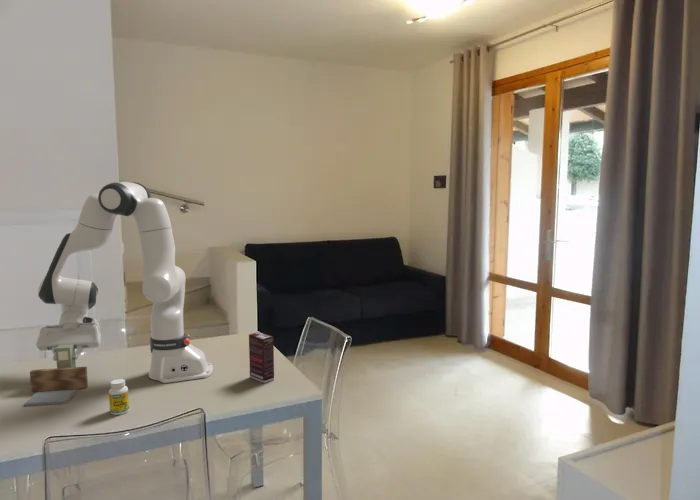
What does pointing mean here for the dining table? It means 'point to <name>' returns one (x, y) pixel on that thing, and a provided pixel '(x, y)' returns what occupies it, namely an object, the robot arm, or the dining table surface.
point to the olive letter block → (65, 356)
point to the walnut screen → (58, 379)
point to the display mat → (50, 397)
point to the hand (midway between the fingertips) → (65, 359)
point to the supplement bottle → (118, 397)
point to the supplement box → (261, 357)
